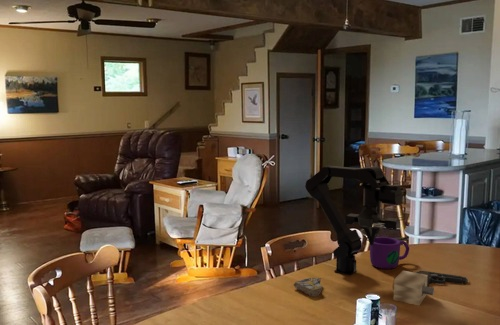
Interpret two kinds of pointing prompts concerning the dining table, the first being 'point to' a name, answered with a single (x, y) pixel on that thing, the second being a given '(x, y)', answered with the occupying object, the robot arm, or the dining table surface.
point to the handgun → (443, 278)
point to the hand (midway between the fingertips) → (371, 244)
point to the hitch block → (409, 287)
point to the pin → (423, 289)
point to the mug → (387, 252)
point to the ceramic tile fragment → (309, 286)
